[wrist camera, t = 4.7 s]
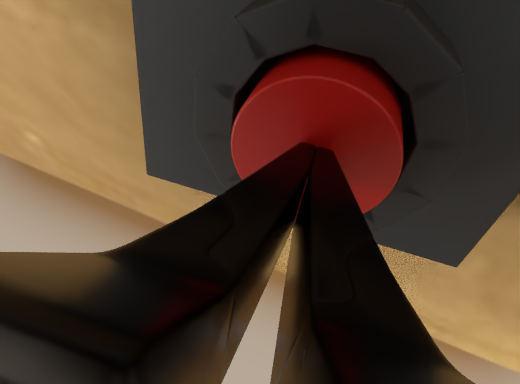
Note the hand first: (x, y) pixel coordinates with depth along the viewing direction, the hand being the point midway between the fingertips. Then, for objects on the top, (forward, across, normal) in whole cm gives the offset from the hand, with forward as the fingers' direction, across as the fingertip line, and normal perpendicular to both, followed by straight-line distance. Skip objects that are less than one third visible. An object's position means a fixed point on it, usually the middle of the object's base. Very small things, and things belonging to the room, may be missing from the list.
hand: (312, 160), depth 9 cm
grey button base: (+6, 0, 0) cm, 6 cm away
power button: (+2, 0, 0) cm, 2 cm away
